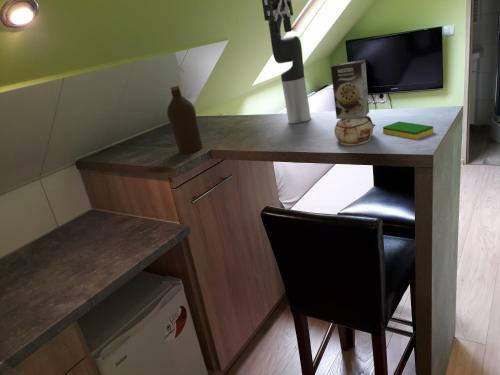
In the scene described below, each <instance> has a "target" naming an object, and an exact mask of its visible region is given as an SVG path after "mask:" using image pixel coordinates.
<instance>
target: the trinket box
mask: <svg viewBox="0 0 500 375" xmlns="http://www.w3.org/2000/svg"><path fill="white" fill-rule="evenodd" d="M375 126H376V124H375V123H373V120H372V119H371V117H370V116H369V115H368V114H367V115H366V116H365V117H358V118H344V119H337V121H336V124H335V125H334V136H335V138H336V139H337V140H338V142H339V143H340V145H343V146H351V147H352V146H358V145H362V144H366V143H367V142H369V141H370V140H371V137H372V135H373V132H374V129H375V128H374V127H375Z"/></svg>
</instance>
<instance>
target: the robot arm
mask: <svg viewBox="0 0 500 375" xmlns="http://www.w3.org/2000/svg"><path fill="white" fill-rule="evenodd" d="M261 3H262V9H263V19H264V21H265V22H266V21H267V23H268V29H269V34H270V35H269V37H270V43H271V50H272V55H273V59H274V60H275V61H274V62H276V63H277V64H284V63H291V64H292V65H291V67H289V69H287V70H286V71H284V72H282V74H281V75H280V78H281V79H280V80H281V83H282V84H281V85H282V90H283V96H284V97H283V98H284V103H285V108H286V115H287V120H288V123H289V124H300V123H304V122H307V121H310V120H311V111H310V104H309V97H308V92H307V85H306V79H305V77H306V76H305V70H304V61H303V49H302V42H301V40H300V37H299V36H297V35H292V36H287V37H282V33H281V27H282V24H283V30H284V32H285V33H290V32H292V29H293V28H292V22H291V18H292V16H294V11H293V5H292V0H261Z"/></svg>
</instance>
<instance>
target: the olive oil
mask: <svg viewBox="0 0 500 375" xmlns="http://www.w3.org/2000/svg"><path fill="white" fill-rule="evenodd" d="M170 90H171V91H170V92H171V96H172V98H171V100H170V103H169V104H168V105H167V109H166V110H167V112H166V115H167V119H168V120H169V124H170V127H171V130H172V133H173V136H174V139H175V143H176V145H177V150H178V153H179V154H181V155H186V154H187V155H188V154H192V153H195V152H199V151H200V150H202V149H203V146H204V145H203V143H202V138H201V134H200V128H199V123H198V120H197V119H198V118H197V113H196V109H195V106H194V104H193V103H192V102H191V101H190V100H188V99H187V98H185V97H184V96H183V95H182V93H181V89H180V86H179V85H174V86H170Z"/></svg>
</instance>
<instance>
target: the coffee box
mask: <svg viewBox="0 0 500 375" xmlns="http://www.w3.org/2000/svg"><path fill="white" fill-rule="evenodd" d="M366 61H367V60H366V59H360V60H354V61H347V62H340V63H338V62H337V63H336V64H335V63H334V64H333V65H331V66H330V70H331V72H330V73H331V80H332V90H333V97H334V107H335V117H336V119H337V120H339V119H344V118H358V117H365V116H366V115H367V116H368V114H369V113H370V106H369V104H370V103H369V94H368V93H369V92H368V81H367V80H368V78H367V66H366V65H367V63H366Z"/></svg>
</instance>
